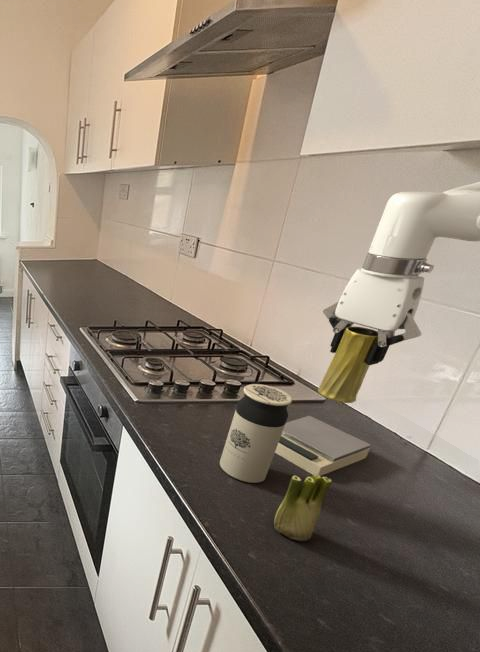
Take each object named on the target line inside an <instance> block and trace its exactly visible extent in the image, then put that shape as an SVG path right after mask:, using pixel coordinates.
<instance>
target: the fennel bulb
mask: <svg viewBox="0 0 480 652" xmlns="http://www.w3.org/2000/svg"><path fill="white" fill-rule="evenodd" d="M332 483H333V480H332V479H331V478H328V477H327V476H319V475H316V474H313V475H312V476H307V477H306V478H305V479H304V481H303V482H302V479H301V478H300V477H299V476H297V475H292V476H291V478H290V482H289V484H288V488H287V489H286V493H285V495H284V498H283V500H282V502H280V504H279V506H278V508H277V510H276V512H275V515H274V518H273V519H274V520H273V528H274V529H275V530H276V531H277V532H278V533H280V534H282V535H283V536H285V537H287V538H288V539H290V540H293V541H296V542H306V541H309V540H310V539H311V538H312V535H313V533H314V530H315V528H316V525H317V523H318V521H319V517H320V514H321V511H322V510H321V509H322V504H323V500H324V497H325V494H326V493H327V491H328V490H329V487H330V486H331V485H332Z"/></svg>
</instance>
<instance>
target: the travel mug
mask: <svg viewBox="0 0 480 652" xmlns="http://www.w3.org/2000/svg"><path fill="white" fill-rule="evenodd" d="M243 393H244V394H243V395H244V396H243V397H241V398H240V399H239V400H237V401H238V402H237V404H236V408H235V411H234V415H233V417H232V420H231V424H230V426H229V431H228V434H227V437H226V440H225V443H224V446H223V451H222V453H221V455H220V460H219V466H220V468H221V469H222V470H223V471H224V472H225V473H226V474H227V475H229V476H230V477H232V478H234V479H236V480H239V481H242V482H245V483H252V484H253V483H254V484H258V483H262V482H264V481H265V480H266V478H267V476H268V472H269V469H270V467H271V464H272V462H273V458H274V456H275V454H276V453H275V451H276V448H277V445H278V442H279V440H280V437H281V434H282V432H283V429H284V426H285V424H286V423H287V421H288V418H289V412H288V406H289V405H290V404H292V402H293V398H292V397H291V395H290V394H289V393H287V392H286V391H284V390H281V389H280V388H277V387H275V386H271V385H266V384H260V383H251V384H247V385H246V386H244V387H243Z"/></svg>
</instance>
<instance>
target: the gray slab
mask: <svg viewBox="0 0 480 652" xmlns="http://www.w3.org/2000/svg"><path fill="white" fill-rule="evenodd" d="M282 434H283V435H284V436H286V437H288V438H290V439H292V440H294V441H296V442H298V443H299V444H301V445H303V446H305V447H307V448H309V449H311V450H312V451H314V452H316V453H318V454H320V455H322V456H324V457H325V458H327V459H329V460H331V461H333V462H334V461H336V460H339V459H342V458H344V457H347V456H349V455H352V454H355V453H357V452H360V451H363V450H365V449H368V448H370V449H371V444H370V443H368V442H366V441H364V440H362V439H360V438H357V437H356V436H353V435H351V434H349V433H347V432H345V431H343V430H341V429H338V428H337V427H335V426H333V425H330V424H329V423H325V422H324V421H321V420H320V419H317V418H315V417H313V416H311V415H306V416H304V417H299V418H297V419H294V420H290V421H288V422H287V421H286V424H285V426H284V429H283V432H282Z"/></svg>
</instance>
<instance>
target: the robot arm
mask: <svg viewBox="0 0 480 652" xmlns="http://www.w3.org/2000/svg"><path fill="white" fill-rule="evenodd" d="M436 238H444V239H445V238H446V239H454V240H459V241H460V240H461V241H465V242H480V181H477V182H475V183H473V182H472V183H470V184H466V185H461V186H457V187H455V188H451V189H447V190H444V191H442V192H438V191H437V192H436V191H400V192H397V193H394V194H393V195H391V196H390V198H389V199H388V200H387V202H386V205H385V207H384V210H383V213H382V215H381V218H380V220H379V223H378V226H377V227H376V230H375V233H374V235H373V238H372V240H371V243H370V246H369V249H368V252H367V254H366V256H365V259H364V261H363V264H362V267H361V268H357V269H356V271H355V272H354V273H353V275H352V276H351V278H350V280H349V281H348V283H347V285H346V286H345V288H344V290H343V291H342V294H341V296H340V298H339V300H338V301H336V302H335V303H333V304H332V305H330V306H328V307H326V308H324V309H323V310H322V312H323V314H324V316H325V317H326V319H327V320H328V323H329V324H330V326H331V327H332V332H333V333H334V335H333V337H332V340H331V342H330V350H329V352H330V353H332V354H335V353H336V351H337V348H338V346H339V344H340V341H341V339H342V337H343V334H344V332H345V330H346V328H347V327H352V326H354V324H355V325H358V326H361V327H365V328H368V329H372V330H376V331H378V343H377V345H373V346H372V349H371V351H370V353H369V356H368V358H367V360H366V364H367V365H370V366H373V365H376V364H379V363H381V362H383V361H384V359H385V357H386V354H387V352H388V350H389V348H390V346H392V345H396V344H399V343H401V342H405V341H407V340H411V339H416V338H418V337H421V336H422V331H421V330H420V328H419V326H418V324H417V323H416V321H415V319H414V318H415V316H416V313H417V310H418V308H419V304H420V301H421V298H422V294H423V289H424V284H425V277H424V276H420V275H421V274H422V273H429V274H430V273H432V271H433V270H434V267H435V265H434V264H430V263H428V255H429V253H430V251H431V249H432V246H433V244H434V242H435V240H436ZM397 330H405V332H403V333H400V334H397V335H396V331H397Z"/></svg>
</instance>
